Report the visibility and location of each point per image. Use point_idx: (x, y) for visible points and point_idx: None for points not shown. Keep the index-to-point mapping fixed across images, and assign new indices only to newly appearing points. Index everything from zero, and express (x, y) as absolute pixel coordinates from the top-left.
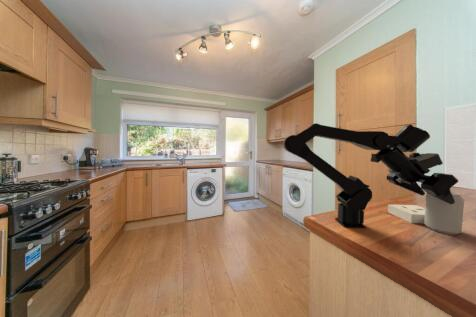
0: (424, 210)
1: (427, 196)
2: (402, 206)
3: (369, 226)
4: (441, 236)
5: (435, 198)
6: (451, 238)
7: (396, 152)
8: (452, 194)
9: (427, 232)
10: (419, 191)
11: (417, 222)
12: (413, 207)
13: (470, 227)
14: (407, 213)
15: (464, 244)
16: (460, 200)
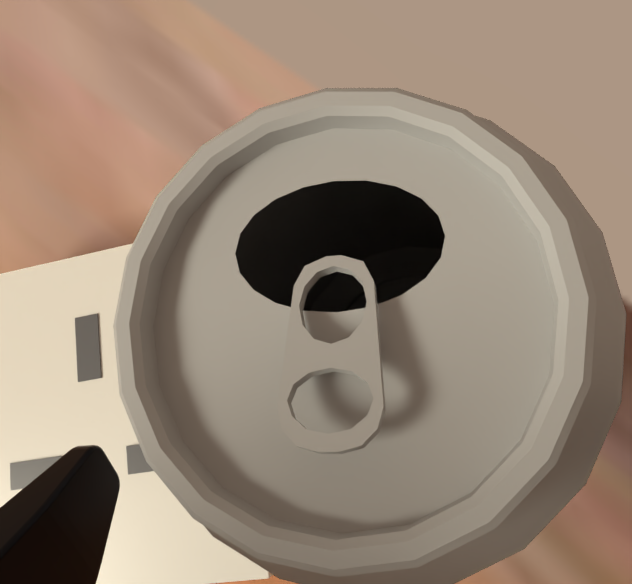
0: (113, 317)
1: (305, 580)
2: (13, 478)
3: None
4: (600, 504)
5: (473, 569)
6: (623, 442)
7: None
8: (577, 332)
9: (530, 572)
10: (67, 563)
11: None
12: (30, 366)
13: (299, 83)
14: (219, 578)
15: None
16: (597, 239)
